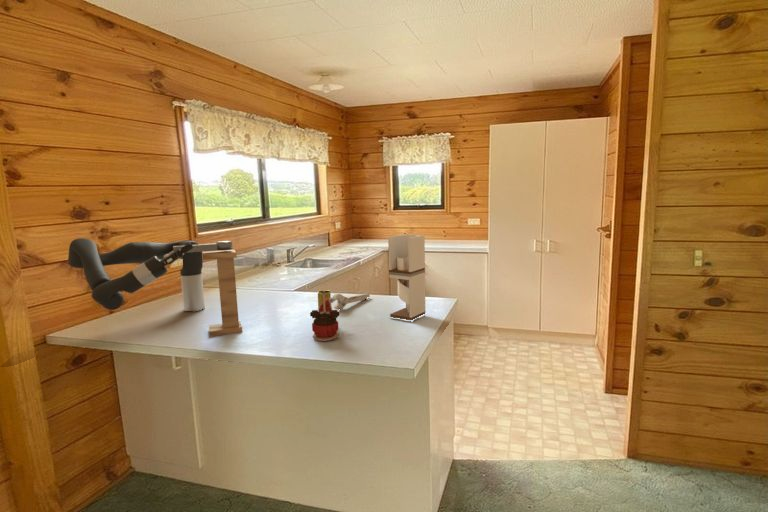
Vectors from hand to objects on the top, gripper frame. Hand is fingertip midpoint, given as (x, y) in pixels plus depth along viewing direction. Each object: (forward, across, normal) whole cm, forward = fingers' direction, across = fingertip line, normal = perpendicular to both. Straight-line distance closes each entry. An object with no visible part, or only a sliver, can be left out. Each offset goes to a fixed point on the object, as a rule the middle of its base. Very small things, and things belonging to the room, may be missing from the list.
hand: (191, 244), depth 165 cm
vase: (+23, +12, -55) cm, 61 cm away
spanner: (+2, 0, -4) cm, 4 cm away
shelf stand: (-10, 0, -36) cm, 37 cm away
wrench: (+40, -14, -65) cm, 78 cm away
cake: (+20, +27, -53) cm, 63 cm away
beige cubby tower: (+53, +17, -72) cm, 92 cm away
